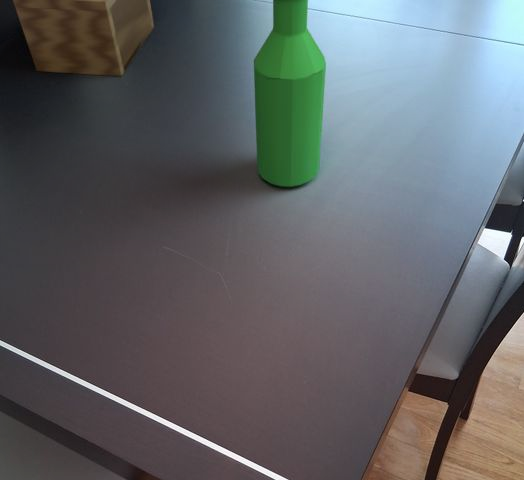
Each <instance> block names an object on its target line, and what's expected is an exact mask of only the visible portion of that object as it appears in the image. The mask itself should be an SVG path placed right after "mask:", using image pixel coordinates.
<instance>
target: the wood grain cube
mask: <svg viewBox="0 0 524 480" xmlns="http://www.w3.org/2000/svg"><path fill="white" fill-rule="evenodd" d="M12 3H13V5H14V7H15V10H16V14H17V16H18V17H17V18H18V20H19V23H20V26H21V29H22V31H23V35H24V38H25V40H26V44H27V46H28V49H29V52H30V55H31V58H32V61H33V64H34V67H35V69H36V72H43V73H44V72H45V73H60V74H61V73H62V74H77V75H94V76H111V77H123V75H124V74H125V73H126V71H127V69H128V67H129V66H130V64H131V63H132V62H133V60H134V58H135V57H136V56H137V54H138V53H139V51H140V49H141V48H142V46H143V45H144V43H145V42H146V40H147V39H148V38H149V35H150V34H151V33H152V31H153V29H154V28H155V24H154V23H155V22H154V17H153V11H152V6H151V0H12Z"/></svg>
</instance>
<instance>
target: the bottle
mask: <svg viewBox="0 0 524 480" xmlns="http://www.w3.org/2000/svg"><path fill="white" fill-rule="evenodd" d="M308 6H309V0H272V29H271V31H270V32H269V34H268V36H267V37H266V39H265V41H264V42H263V44H262V45H261V47H260V49H259V51H258V52H257V54H256V56H255V57H254V59H253V73H254V74H253V79H254V80H253V83H254V111H255V112H254V113H255V118H254V119H255V136H256V137H255V141H256V166H257V173H258V174H259V176H260V177H261V179H263V180H265V181H266V182H268V183H269V184H271V185H273V186H277V187H281V188H283V187H284V188H294V187H299V186H301V185H304V184H306V183H309V182H310V181H311V180H313V179H314V178H315V177H316V176H317V175H318V172H319V170H320V163H321V161H320V160H321V146H322V132H323V119H324V118H323V116H324V101H325V85H326V84H325V83H326V70H327V68H326V67H327V62H326V59H325V58H326V57H325V56H324V54H323V51H321V49H320V47H319V46H318V44H317V42H316V40H315V39H314V37H313V35H312V34H311V32H310V31H309V29H308V10H309V9H308Z"/></svg>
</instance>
